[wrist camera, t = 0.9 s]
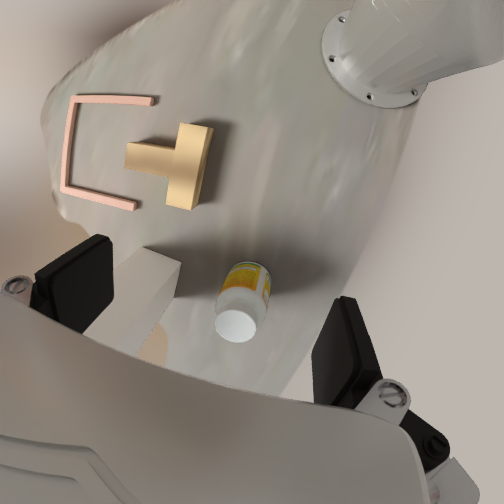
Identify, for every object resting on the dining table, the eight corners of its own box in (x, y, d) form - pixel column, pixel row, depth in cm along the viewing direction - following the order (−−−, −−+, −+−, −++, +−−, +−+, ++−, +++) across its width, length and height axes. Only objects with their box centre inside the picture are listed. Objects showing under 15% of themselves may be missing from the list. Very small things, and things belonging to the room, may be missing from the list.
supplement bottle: (280, 280, 34) (276, 330, 25) (250, 305, 36) (237, 356, 27) (248, 250, 33) (233, 293, 24) (219, 277, 35) (197, 324, 26)
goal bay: (74, 96, 27) (71, 95, 26) (154, 98, 27) (151, 97, 26) (63, 190, 33) (60, 192, 32) (136, 209, 32) (133, 211, 32)
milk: (182, 261, 34) (84, 394, 14) (173, 298, 37) (94, 428, 17) (140, 245, 34) (24, 353, 14) (135, 282, 37) (41, 394, 16)
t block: (143, 117, 28) (132, 116, 25) (214, 128, 28) (207, 127, 25) (131, 188, 31) (121, 193, 29) (197, 205, 31) (190, 210, 29)
